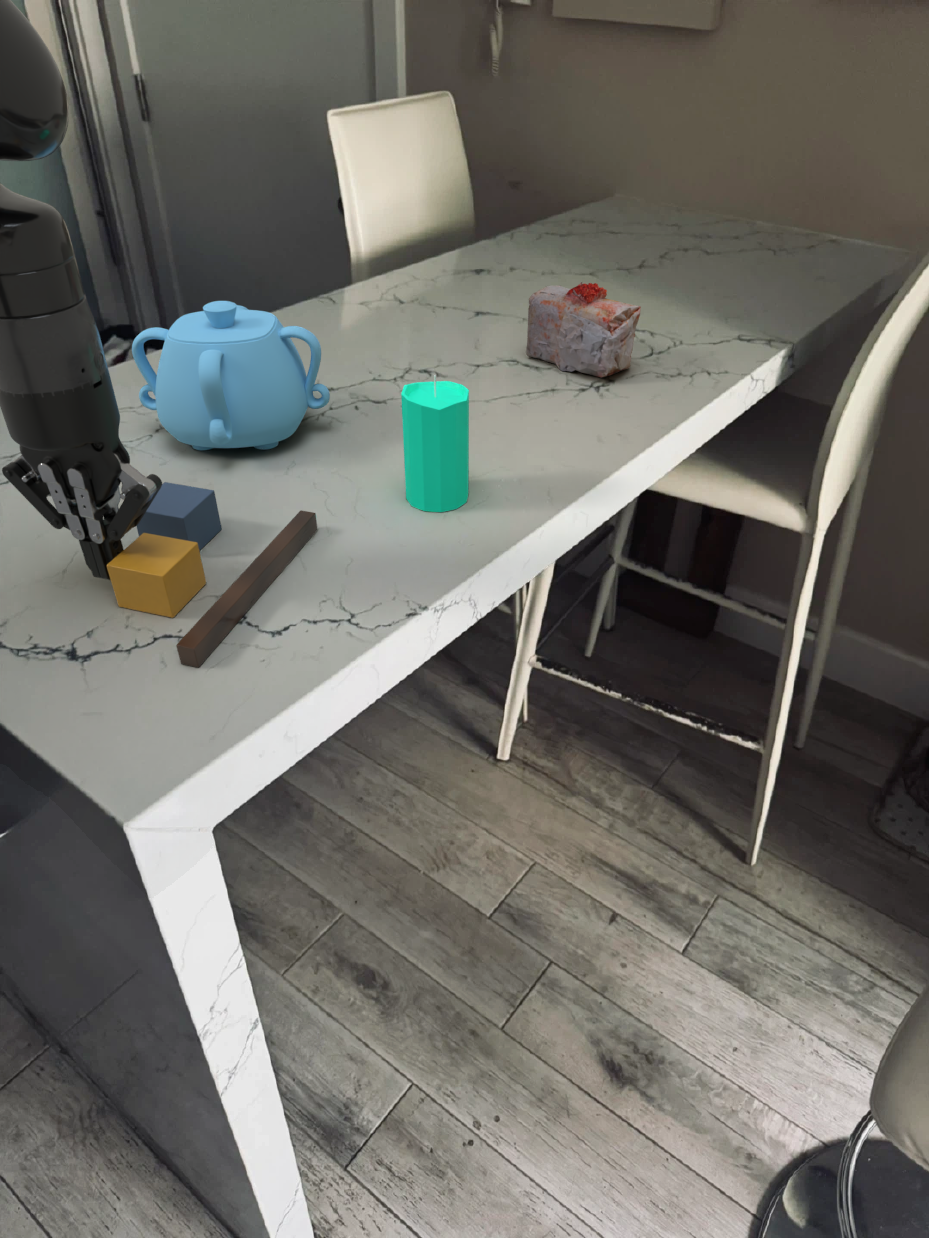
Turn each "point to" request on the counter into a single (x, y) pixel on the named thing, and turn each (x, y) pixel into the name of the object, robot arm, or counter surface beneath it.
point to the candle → (436, 444)
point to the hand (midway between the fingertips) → (110, 573)
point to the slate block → (182, 514)
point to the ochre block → (157, 574)
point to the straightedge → (245, 590)
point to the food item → (581, 329)
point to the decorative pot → (230, 377)
